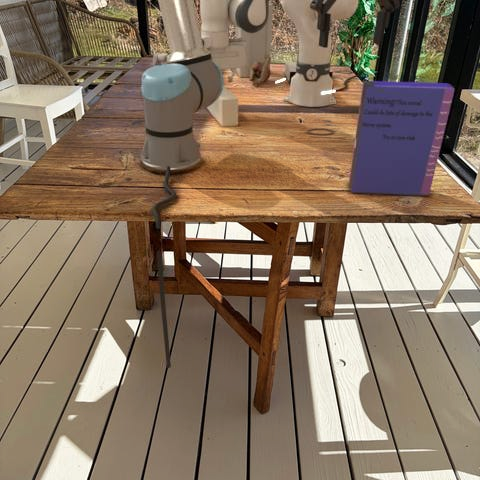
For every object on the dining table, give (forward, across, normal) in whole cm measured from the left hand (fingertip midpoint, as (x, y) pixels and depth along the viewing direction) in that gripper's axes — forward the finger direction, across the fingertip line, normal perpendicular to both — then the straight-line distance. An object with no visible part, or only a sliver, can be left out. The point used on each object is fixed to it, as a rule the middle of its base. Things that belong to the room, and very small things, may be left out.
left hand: (350, 45), depth 105 cm
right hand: (+21, +13, -61) cm, 66 cm away
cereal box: (+30, -6, +14) cm, 33 cm away
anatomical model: (+30, -15, -93) cm, 99 cm away
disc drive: (+30, -38, -96) cm, 107 cm away
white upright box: (+30, -20, -114) cm, 119 cm away
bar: (+30, +14, -54) cm, 63 cm away
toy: (+30, +7, -131) cm, 135 cm away
